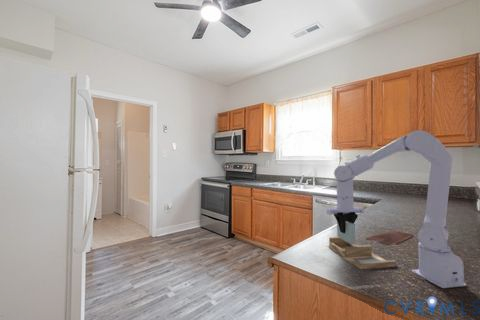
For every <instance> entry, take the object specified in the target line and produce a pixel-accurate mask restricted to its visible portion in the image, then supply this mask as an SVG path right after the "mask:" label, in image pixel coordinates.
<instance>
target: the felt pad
mask: <svg viewBox="0 0 480 320" xmlns="http://www.w3.org/2000/svg"><path fill="white" fill-rule="evenodd" d="M354 260H355V261H357V262H358V263H366V262H378V261H380V260H378V259H376V258H375V257H367V258H355V259H354Z"/></svg>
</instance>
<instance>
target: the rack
mask: <svg viewBox="0 0 480 320" xmlns="http://www.w3.org/2000/svg"><path fill="white" fill-rule="evenodd" d="M328 241H329V242H328V243H329V244H328V245H326V247H328V248H329V249H330V250H332V251H333V252H334V253H336V254H338V255H339V256H340V257H342V258H344V259H345V260H346V261H348V262H349V263H351V264H352V265H354V266H355V267H357V268H358V269H360V270H368V269H369V270H372V269H380V268H390V267H391V268H392V267H393V268H394V267H397V265H398V264H397V262H398V261H397V260H396V259H393V260H387V259H384V258H382V257H380V256H379V255H377V254H375V253H373V251H372V249H373V247H372V246H373V245H371V244H365V245H364V244H363V245H360V246H348V242H346V241H344V240H343V239H341V238H339V237H337V236H334V237H331V236H330V237H329V240H328ZM367 257H375V258H376V259H378V260H380V261H378V262H366V263H358V262H357V261H355V260H354V259H355V258H367Z"/></svg>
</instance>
